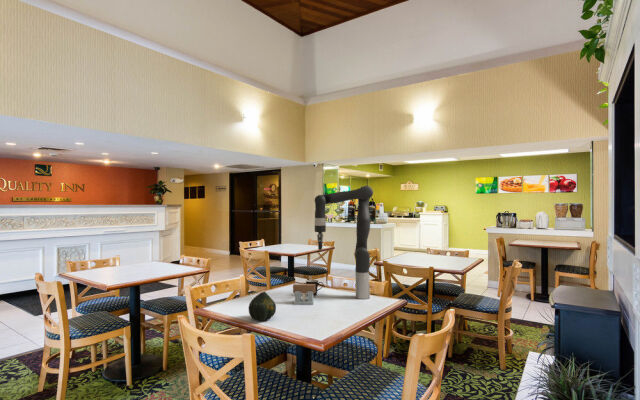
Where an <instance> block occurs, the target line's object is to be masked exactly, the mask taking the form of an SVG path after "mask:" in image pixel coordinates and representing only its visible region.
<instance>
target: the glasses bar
mask: <svg viewBox="0 0 640 400" xmlns="http://www.w3.org/2000/svg"><path fill="white" fill-rule="evenodd" d="M295 291H300V293H301V294H303V293H306V294H307V293H308V292H313V293H315V284H306V283H293V285H292V294H295Z"/></svg>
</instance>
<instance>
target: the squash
mask: <svg viewBox="0 0 640 400" xmlns="http://www.w3.org/2000/svg"><path fill="white" fill-rule="evenodd" d="M276 311H277V305H276V302H275V300H274V299H272V297H271V296H270V295H269V294H268V293H267V292H266V291H262V292H260V293H259V294H257V295H256V296H255V297H253V298H252V300H251V301H250V302H249V304H248V313H249V316H250V317H251V318H252V319H254V320H260V321H261V322H265V321H269V320H270V319H271V318H272V317H273V316H274V315H275V314H276Z"/></svg>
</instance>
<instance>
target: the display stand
mask: <svg viewBox="0 0 640 400" xmlns="http://www.w3.org/2000/svg"><path fill="white" fill-rule="evenodd" d="M314 303H315V298H314V296H313V292H308V294H307V293H300V291H295V293H294V302H293V304H294V306H295V305H296V306H313V305H314Z"/></svg>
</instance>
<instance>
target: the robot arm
mask: <svg viewBox="0 0 640 400" xmlns="http://www.w3.org/2000/svg"><path fill="white" fill-rule="evenodd" d="M373 195H374V190H373V188H372V187H371V186H369V185H364V186H361V187H360V188H357V189H352V190H351V189H350V190H346V191H345V190H343V191H337V192H336V191H335V192H331V193H328V194H318V195H316V196H315V198H314V203H315V204H314V205H315V210H314V232H315V233H317V234H316V237H317V239H316V241H317V244H318V245H317V247H318V249H317V250H318V251H322V249H323V240H324V234H323V233H326V232H327V231H326V230H327V223H326V221H327V220H326V205H330V204H338V203H342V202H343V203H344V202H346V201H353V200H358V201H357V202H358V203H357V204H358V208H357V216H356V231H355V232H356V243H355V250H354V257H355V268H354V269H355V270H354V271H355V272H354V273H355V274H354V276H355V283H354V284H355V298H356V299H358V300H368V299H370V298H371V297H370V295H371V294H370V293H371V292H370V291H371V290H370V266H371V265H370V264H371V263H370V261H371V260H370V258H371V256H370V252H369V250H368V238H369V234H370V231H371V230H370V229H371V214H370V207H369V206H370V199H371V198H372V197H373Z"/></svg>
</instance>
